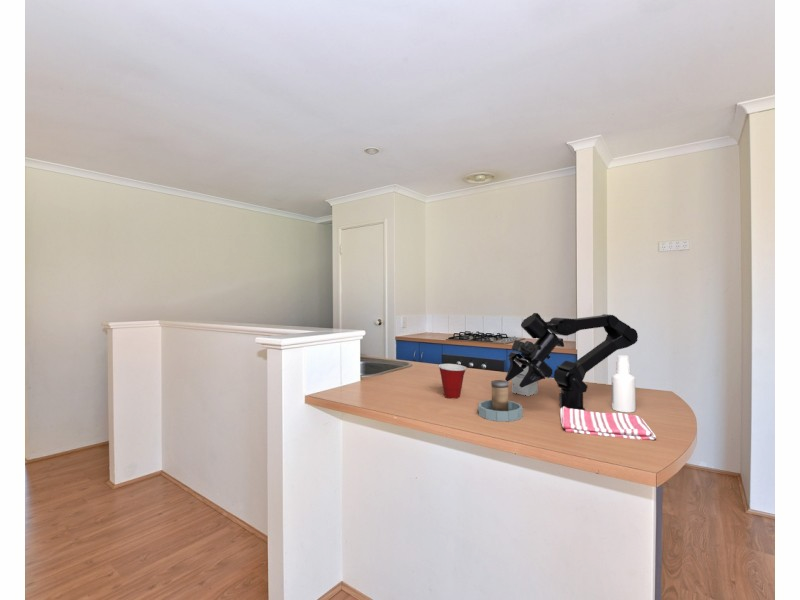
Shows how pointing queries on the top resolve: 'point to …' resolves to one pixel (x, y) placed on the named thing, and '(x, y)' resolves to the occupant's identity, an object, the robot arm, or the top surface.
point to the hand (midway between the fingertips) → (513, 383)
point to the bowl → (512, 414)
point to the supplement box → (527, 389)
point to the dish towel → (605, 424)
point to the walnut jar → (499, 395)
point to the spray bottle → (623, 386)
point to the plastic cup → (452, 379)
